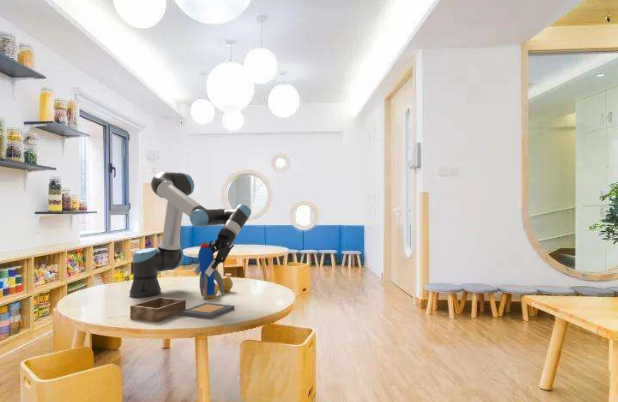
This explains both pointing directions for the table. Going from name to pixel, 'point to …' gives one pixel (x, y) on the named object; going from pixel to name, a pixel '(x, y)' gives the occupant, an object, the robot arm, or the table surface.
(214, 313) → the pad
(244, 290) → the table surface
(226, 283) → the dumbbell
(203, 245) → the toy rocket
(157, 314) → the wooden tray
